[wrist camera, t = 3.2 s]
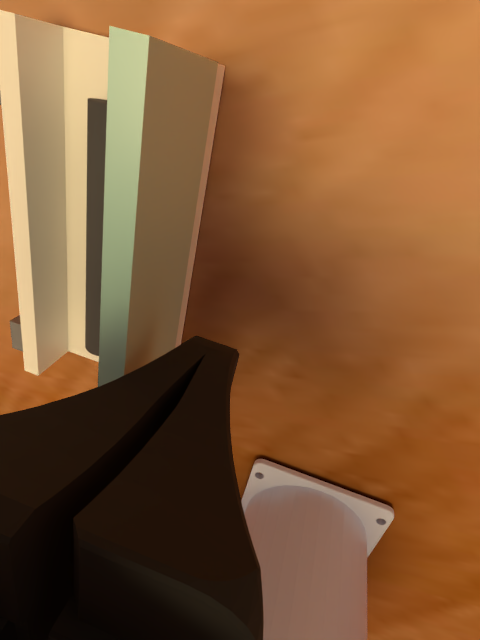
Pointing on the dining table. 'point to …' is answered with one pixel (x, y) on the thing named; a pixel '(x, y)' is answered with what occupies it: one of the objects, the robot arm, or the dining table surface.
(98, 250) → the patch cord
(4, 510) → the robot arm
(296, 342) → the dining table surface
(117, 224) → the panel
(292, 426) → the dining table surface
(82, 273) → the cream piece
